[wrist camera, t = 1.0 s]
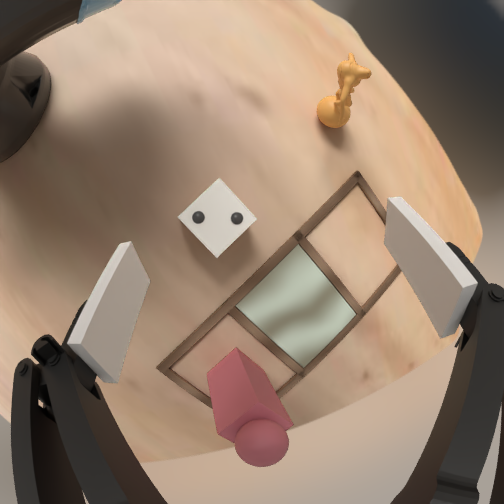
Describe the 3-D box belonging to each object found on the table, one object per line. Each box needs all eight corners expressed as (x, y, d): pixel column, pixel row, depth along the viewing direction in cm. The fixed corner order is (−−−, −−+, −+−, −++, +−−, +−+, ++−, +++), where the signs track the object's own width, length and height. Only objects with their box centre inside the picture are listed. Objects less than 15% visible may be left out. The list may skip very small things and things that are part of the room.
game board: (156, 366, 30) (156, 368, 29) (356, 170, 32) (358, 170, 32) (242, 425, 33) (243, 427, 33) (410, 255, 36) (412, 255, 36)
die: (179, 217, 28) (177, 217, 24) (214, 184, 29) (219, 177, 24) (212, 251, 30) (216, 258, 25) (245, 218, 30) (257, 219, 25)
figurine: (333, 151, 31) (398, 127, 20) (288, 132, 30) (340, 94, 18) (344, 97, 31) (402, 61, 19) (303, 78, 29) (352, 29, 18)
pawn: (206, 373, 31) (224, 466, 17) (235, 347, 32) (272, 432, 17) (235, 394, 32) (265, 482, 18) (263, 369, 33) (309, 452, 18)
